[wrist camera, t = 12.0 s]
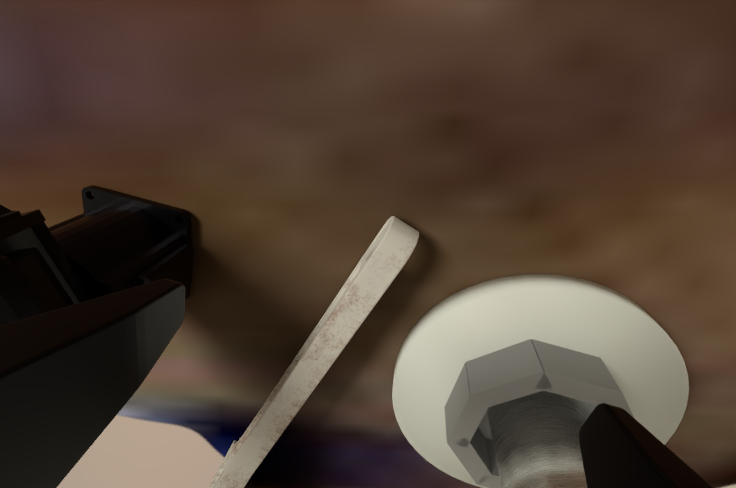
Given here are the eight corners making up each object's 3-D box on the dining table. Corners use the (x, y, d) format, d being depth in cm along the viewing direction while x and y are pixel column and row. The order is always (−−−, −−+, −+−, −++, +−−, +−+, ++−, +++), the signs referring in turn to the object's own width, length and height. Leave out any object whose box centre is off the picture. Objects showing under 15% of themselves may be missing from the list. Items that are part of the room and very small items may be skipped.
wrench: (416, 214, 23) (223, 490, 33) (392, 198, 23) (205, 481, 32) (427, 261, 16) (171, 603, 25) (391, 238, 15) (146, 592, 25)
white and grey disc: (368, 436, 28) (361, 490, 24) (437, 239, 21) (440, 275, 17) (588, 498, 28) (613, 561, 24) (738, 320, 20) (807, 373, 17)
